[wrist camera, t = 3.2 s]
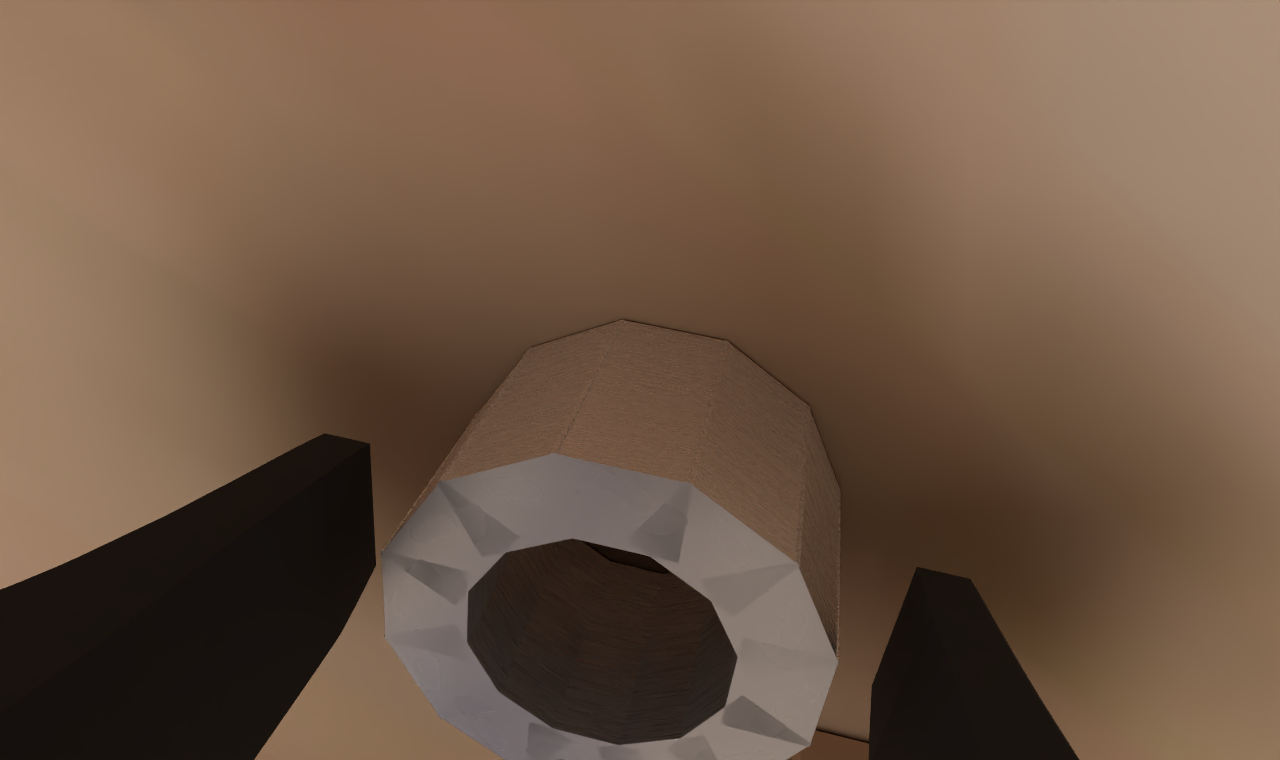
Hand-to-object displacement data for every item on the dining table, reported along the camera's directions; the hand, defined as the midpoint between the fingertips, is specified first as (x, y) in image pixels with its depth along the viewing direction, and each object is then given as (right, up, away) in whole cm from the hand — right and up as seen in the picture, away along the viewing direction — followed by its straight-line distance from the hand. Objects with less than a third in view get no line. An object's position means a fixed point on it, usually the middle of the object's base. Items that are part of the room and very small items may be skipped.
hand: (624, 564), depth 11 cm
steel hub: (0, +1, +1) cm, 2 cm away
